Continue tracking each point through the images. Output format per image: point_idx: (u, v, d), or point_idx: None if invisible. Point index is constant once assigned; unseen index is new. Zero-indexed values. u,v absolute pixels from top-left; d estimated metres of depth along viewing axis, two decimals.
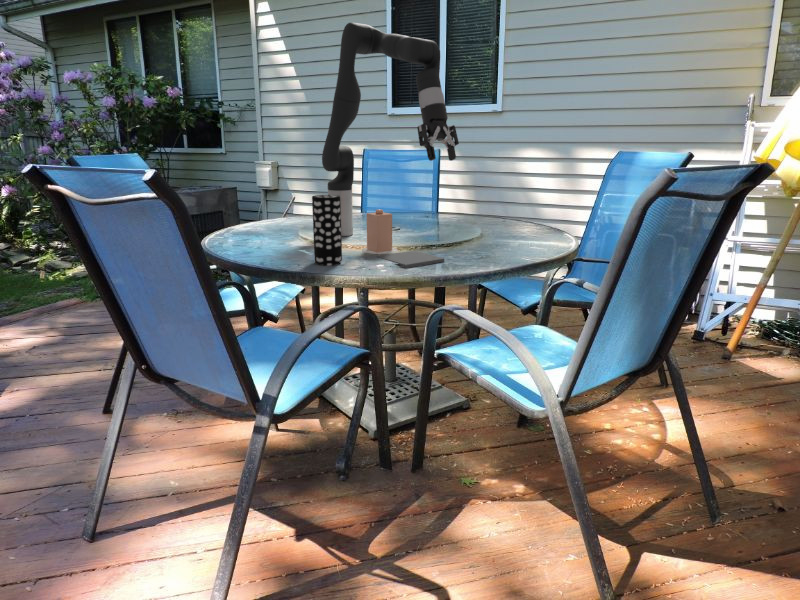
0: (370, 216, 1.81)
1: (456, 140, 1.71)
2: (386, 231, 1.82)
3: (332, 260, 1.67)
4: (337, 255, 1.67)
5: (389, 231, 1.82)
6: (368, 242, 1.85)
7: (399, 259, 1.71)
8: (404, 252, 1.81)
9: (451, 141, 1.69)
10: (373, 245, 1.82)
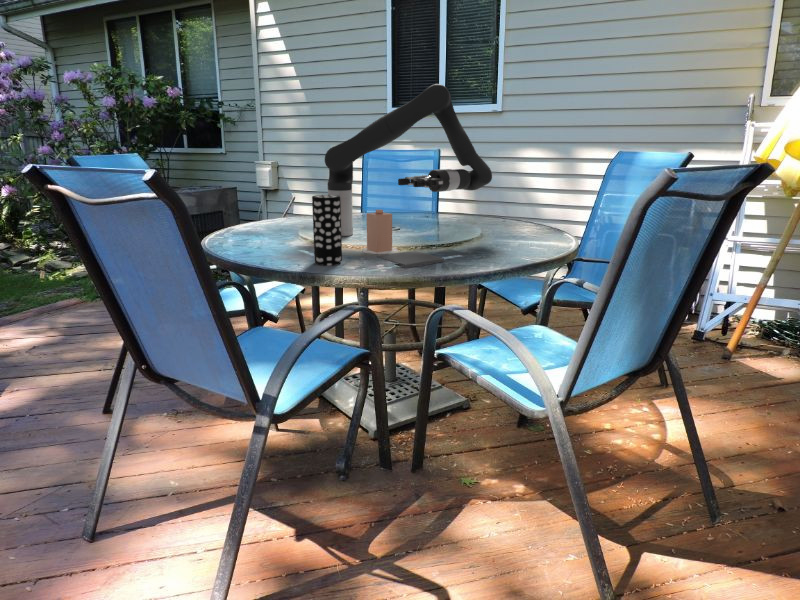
0: (370, 216, 1.81)
1: None
2: (386, 231, 1.82)
3: (332, 260, 1.67)
4: (337, 255, 1.67)
5: (389, 231, 1.82)
6: (368, 242, 1.85)
7: (399, 259, 1.71)
8: (404, 252, 1.81)
9: (411, 184, 1.92)
10: (373, 245, 1.82)
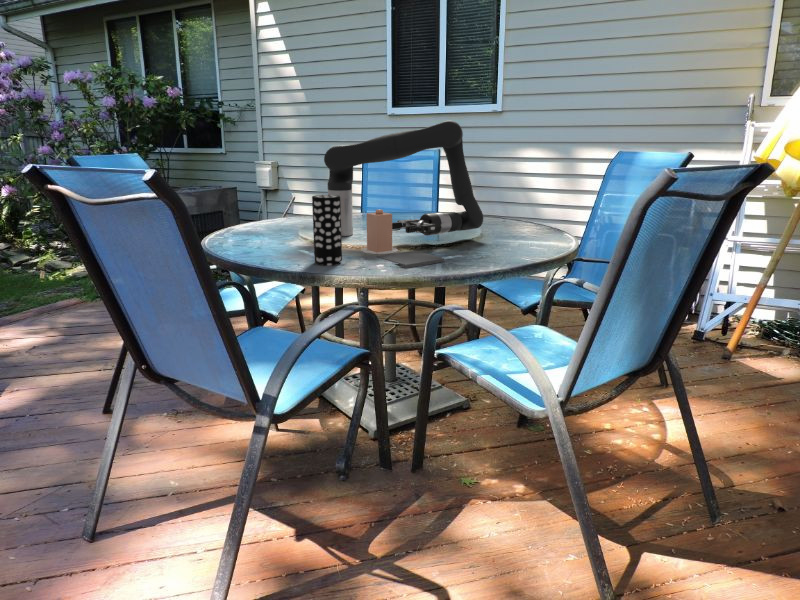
0: (370, 216, 1.81)
1: None
2: (386, 231, 1.82)
3: (332, 260, 1.67)
4: (337, 255, 1.67)
5: (389, 231, 1.82)
6: (368, 242, 1.85)
7: (399, 259, 1.71)
8: (404, 252, 1.81)
9: None
10: (373, 245, 1.82)
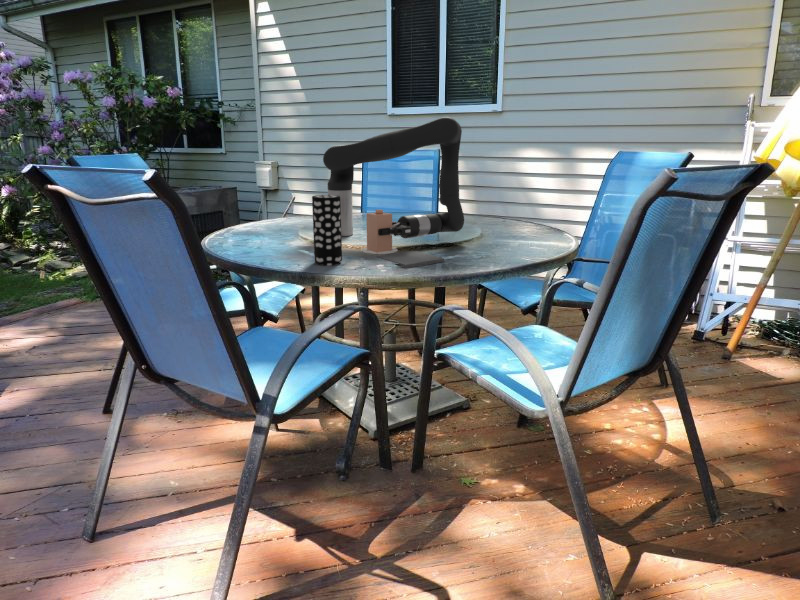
0: (370, 216, 1.81)
1: None
2: None
3: (332, 260, 1.67)
4: (337, 255, 1.67)
5: None
6: (368, 242, 1.85)
7: (399, 259, 1.71)
8: (404, 252, 1.81)
9: None
10: (373, 245, 1.82)
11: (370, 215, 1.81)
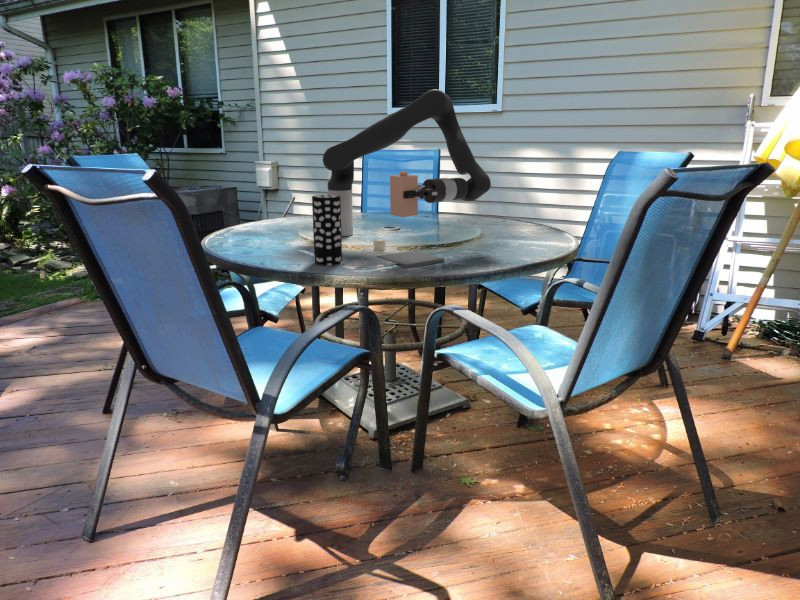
0: (394, 178, 1.69)
1: None
2: None
3: (332, 260, 1.67)
4: (337, 255, 1.67)
5: None
6: (392, 207, 1.73)
7: (399, 259, 1.71)
8: (404, 252, 1.81)
9: None
10: (398, 210, 1.71)
11: (394, 177, 1.69)
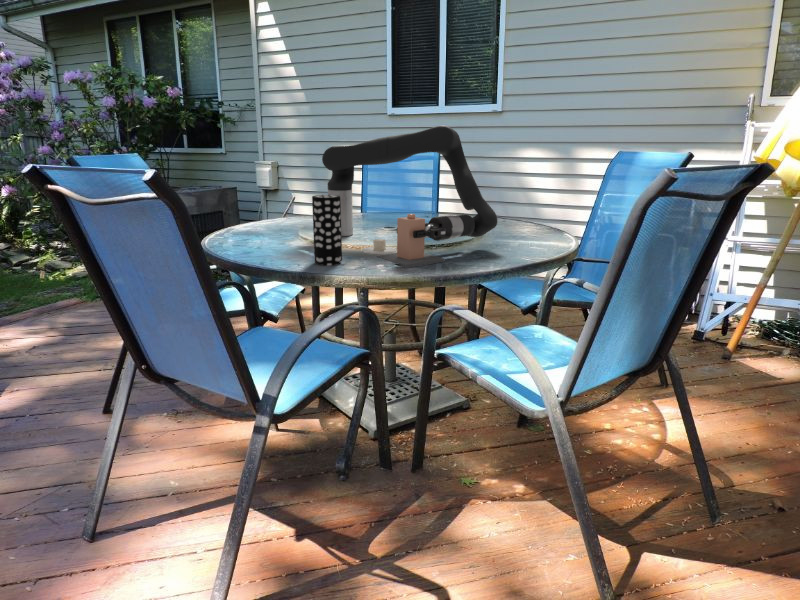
0: (401, 221, 1.70)
1: None
2: None
3: (332, 260, 1.67)
4: (337, 255, 1.67)
5: None
6: (398, 248, 1.73)
7: (399, 259, 1.71)
8: None
9: None
10: (404, 252, 1.71)
11: (402, 220, 1.70)
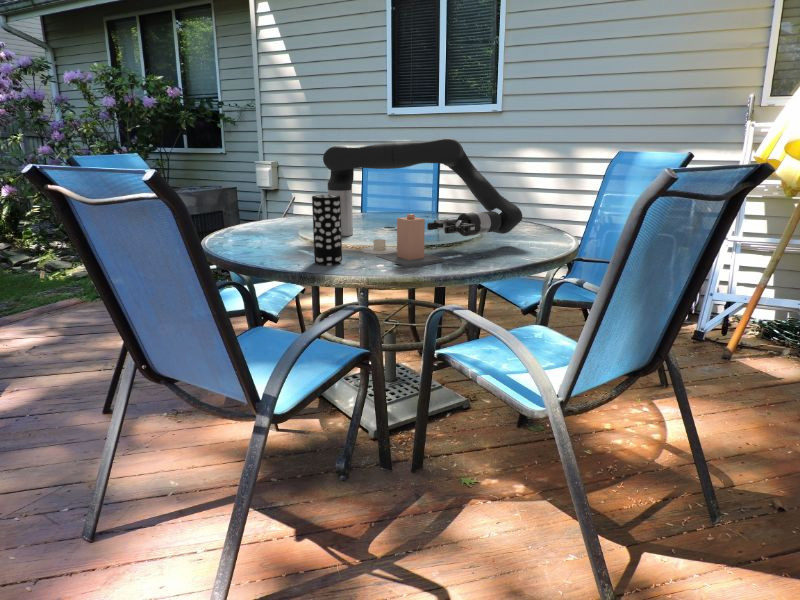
0: (401, 221, 1.70)
1: None
2: (418, 237, 1.70)
3: (332, 260, 1.67)
4: (337, 255, 1.67)
5: (421, 237, 1.71)
6: (398, 249, 1.73)
7: (399, 259, 1.71)
8: None
9: (441, 228, 1.84)
10: (404, 252, 1.71)
11: (401, 220, 1.70)
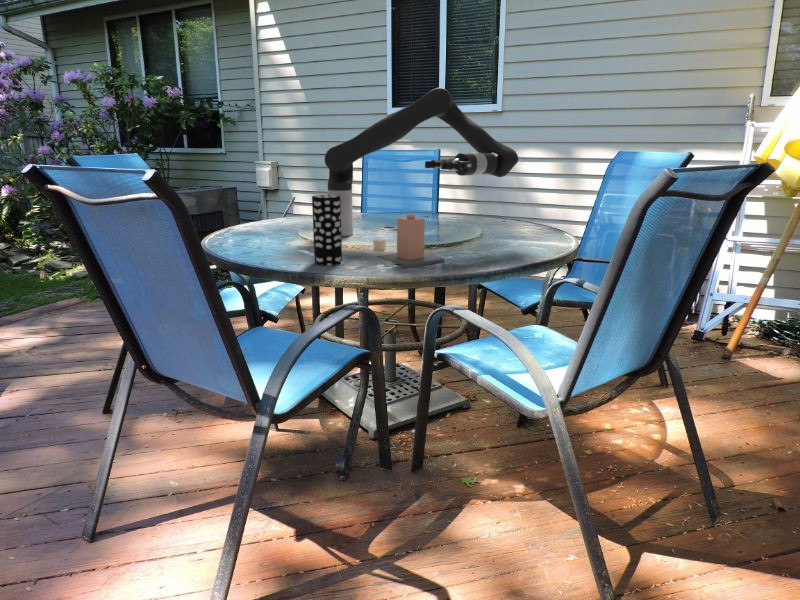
0: (401, 221, 1.70)
1: None
2: (418, 237, 1.70)
3: (332, 260, 1.67)
4: (337, 255, 1.67)
5: (421, 237, 1.71)
6: (398, 249, 1.73)
7: (399, 259, 1.71)
8: None
9: (438, 167, 1.88)
10: (404, 252, 1.71)
11: (401, 220, 1.70)
